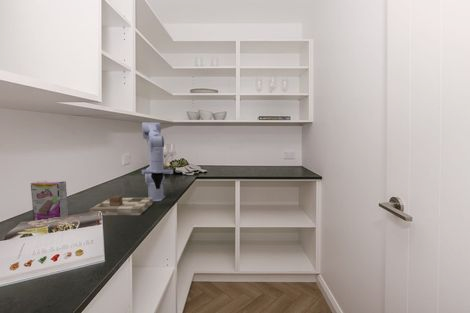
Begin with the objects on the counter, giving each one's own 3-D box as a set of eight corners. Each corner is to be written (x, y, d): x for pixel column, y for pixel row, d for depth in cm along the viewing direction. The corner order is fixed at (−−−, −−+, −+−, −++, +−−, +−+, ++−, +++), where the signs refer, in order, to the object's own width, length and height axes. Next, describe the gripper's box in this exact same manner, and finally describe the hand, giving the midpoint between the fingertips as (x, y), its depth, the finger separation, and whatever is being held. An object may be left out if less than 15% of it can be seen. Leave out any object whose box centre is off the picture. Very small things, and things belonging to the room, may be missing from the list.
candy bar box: (32, 222, 95) (29, 183, 93) (42, 218, 100) (39, 180, 98) (60, 222, 95) (57, 182, 94) (69, 217, 100) (66, 180, 99)
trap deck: (110, 203, 121) (110, 197, 120) (153, 203, 121) (152, 197, 121) (89, 215, 103) (89, 209, 102) (140, 215, 103) (139, 208, 103)
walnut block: (114, 203, 110) (113, 195, 110) (122, 203, 110) (122, 195, 110) (109, 206, 106) (109, 197, 106) (118, 206, 106) (118, 197, 106)
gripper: (138, 161, 108) (140, 190, 109) (170, 161, 108) (171, 190, 110) (144, 160, 115) (145, 187, 116) (173, 160, 116) (174, 186, 117)
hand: (158, 188), depth 114 cm, fingers closed
